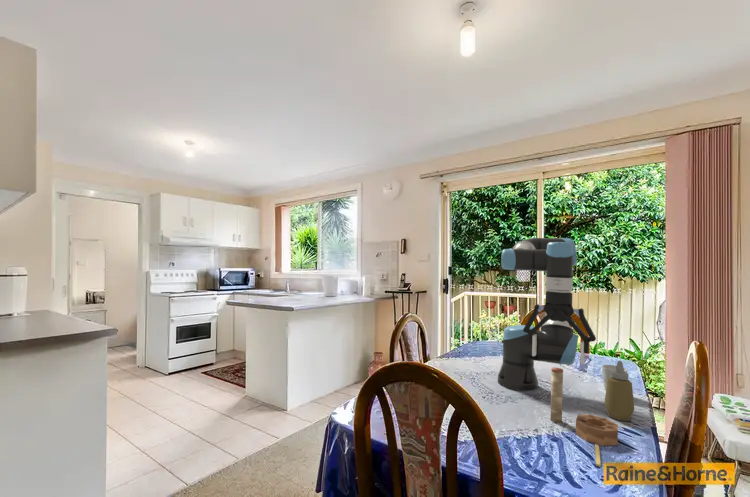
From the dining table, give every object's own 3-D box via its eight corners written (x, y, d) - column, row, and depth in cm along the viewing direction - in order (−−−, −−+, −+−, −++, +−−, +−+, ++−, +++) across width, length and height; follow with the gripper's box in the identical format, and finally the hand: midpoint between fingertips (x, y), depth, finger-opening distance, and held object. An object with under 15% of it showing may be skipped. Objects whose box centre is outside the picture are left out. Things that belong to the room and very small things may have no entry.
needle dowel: (549, 421, 113) (550, 369, 113) (551, 417, 116) (552, 366, 116) (561, 424, 111) (562, 371, 111) (562, 420, 114) (563, 368, 114)
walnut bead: (574, 437, 103) (574, 423, 103) (578, 425, 111) (578, 411, 111) (617, 449, 97) (617, 434, 97) (617, 435, 105) (618, 421, 105)
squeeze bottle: (635, 425, 112) (636, 366, 112) (604, 418, 116) (605, 361, 116) (633, 416, 119) (634, 360, 119) (604, 409, 123) (605, 356, 123)
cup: (631, 399, 133) (631, 372, 134) (606, 397, 135) (607, 369, 135) (620, 391, 141) (621, 365, 142) (597, 389, 143) (598, 363, 143)
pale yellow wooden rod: (600, 466, 88) (600, 464, 88) (596, 465, 89) (596, 463, 89) (598, 446, 98) (598, 445, 98) (595, 445, 98) (595, 444, 98)
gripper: (514, 288, 118) (512, 354, 118) (605, 295, 104) (603, 370, 103) (520, 287, 124) (518, 350, 124) (606, 293, 110) (605, 364, 110)
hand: (557, 359), depth 114 cm, fingers open, 13 cm apart
